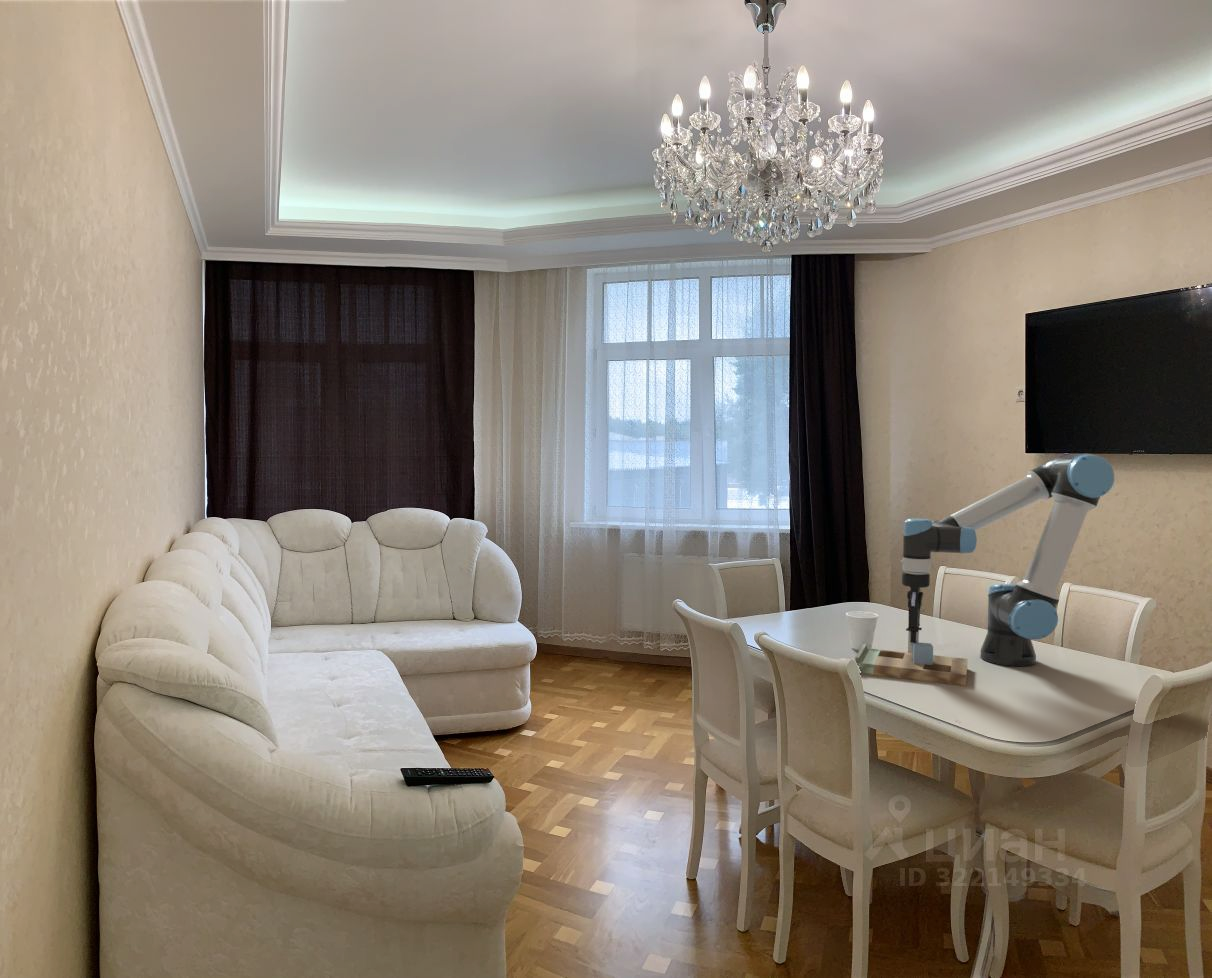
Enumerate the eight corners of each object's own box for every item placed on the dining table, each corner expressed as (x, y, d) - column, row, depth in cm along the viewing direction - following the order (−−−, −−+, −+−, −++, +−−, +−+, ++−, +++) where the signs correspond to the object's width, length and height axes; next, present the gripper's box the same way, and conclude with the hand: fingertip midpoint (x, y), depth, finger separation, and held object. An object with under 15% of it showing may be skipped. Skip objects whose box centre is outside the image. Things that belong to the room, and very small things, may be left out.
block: (930, 660, 238) (931, 643, 237) (932, 665, 233) (933, 647, 232) (912, 659, 239) (912, 642, 239) (913, 663, 234) (914, 646, 234)
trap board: (967, 669, 240) (967, 653, 239) (965, 685, 223) (966, 669, 223) (863, 657, 252) (863, 643, 251) (854, 672, 235) (855, 657, 235)
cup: (879, 653, 257) (880, 618, 256) (846, 651, 259) (847, 617, 258) (875, 645, 266) (876, 612, 266) (843, 644, 268) (844, 610, 268)
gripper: (904, 568, 246) (901, 646, 247) (899, 574, 234) (896, 656, 235) (931, 570, 242) (928, 649, 244) (928, 576, 231) (925, 659, 232)
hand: (913, 652), depth 240 cm, fingers closed
